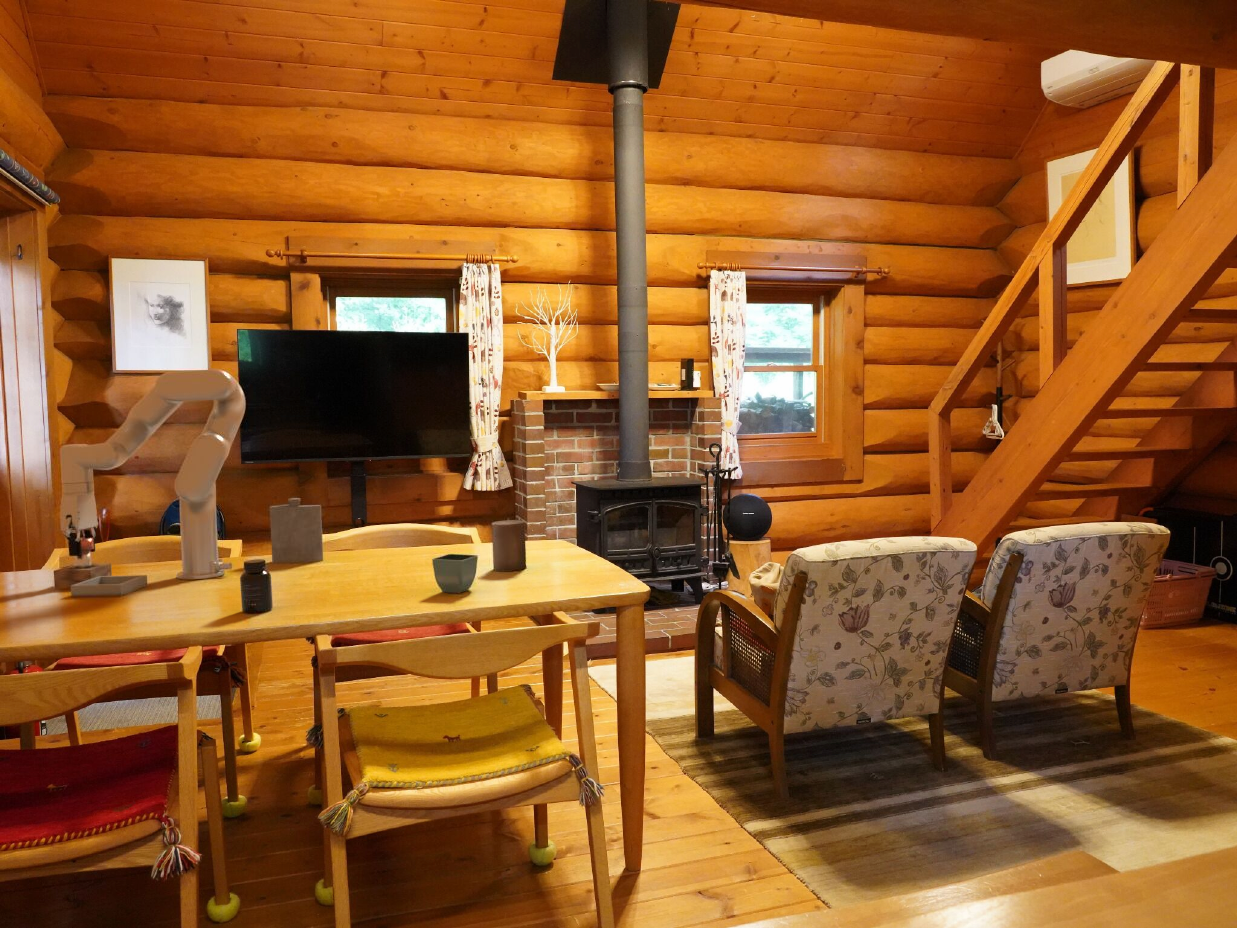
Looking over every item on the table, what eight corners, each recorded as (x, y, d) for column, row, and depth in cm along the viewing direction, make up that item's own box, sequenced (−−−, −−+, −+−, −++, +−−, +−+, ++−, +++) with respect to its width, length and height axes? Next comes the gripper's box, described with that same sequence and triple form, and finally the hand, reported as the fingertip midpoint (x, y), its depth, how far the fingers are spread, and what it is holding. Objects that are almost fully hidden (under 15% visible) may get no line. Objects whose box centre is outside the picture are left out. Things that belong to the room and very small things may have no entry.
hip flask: (324, 559, 283) (322, 497, 282) (320, 562, 279) (317, 498, 278) (274, 560, 283) (271, 497, 282) (269, 563, 279) (266, 499, 278)
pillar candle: (533, 567, 263) (531, 516, 262) (512, 572, 255) (510, 520, 254) (507, 565, 268) (505, 515, 267) (485, 570, 260) (484, 518, 259)
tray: (147, 585, 246) (146, 575, 246) (121, 596, 233) (120, 584, 233) (100, 586, 246) (99, 576, 246) (71, 597, 233) (70, 585, 233)
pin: (79, 576, 252) (77, 537, 251) (99, 576, 252) (97, 537, 251) (67, 580, 246) (65, 540, 246) (88, 579, 246) (85, 540, 246)
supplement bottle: (247, 608, 216) (244, 558, 215) (276, 607, 216) (274, 557, 215) (237, 614, 209) (235, 563, 208) (267, 613, 209) (265, 562, 209)
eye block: (112, 580, 254) (110, 563, 254) (91, 588, 244) (90, 570, 244) (76, 581, 254) (75, 564, 254) (54, 588, 244) (53, 570, 244)
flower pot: (479, 588, 233) (478, 554, 233) (463, 595, 225) (462, 560, 224) (449, 587, 236) (448, 553, 236) (432, 594, 228) (431, 559, 227)
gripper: (83, 486, 256) (87, 549, 257) (44, 492, 239) (49, 559, 240) (109, 485, 256) (113, 548, 257) (73, 491, 239) (77, 558, 240)
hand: (82, 553), depth 249 cm, fingers closed on pin, 5 cm apart
